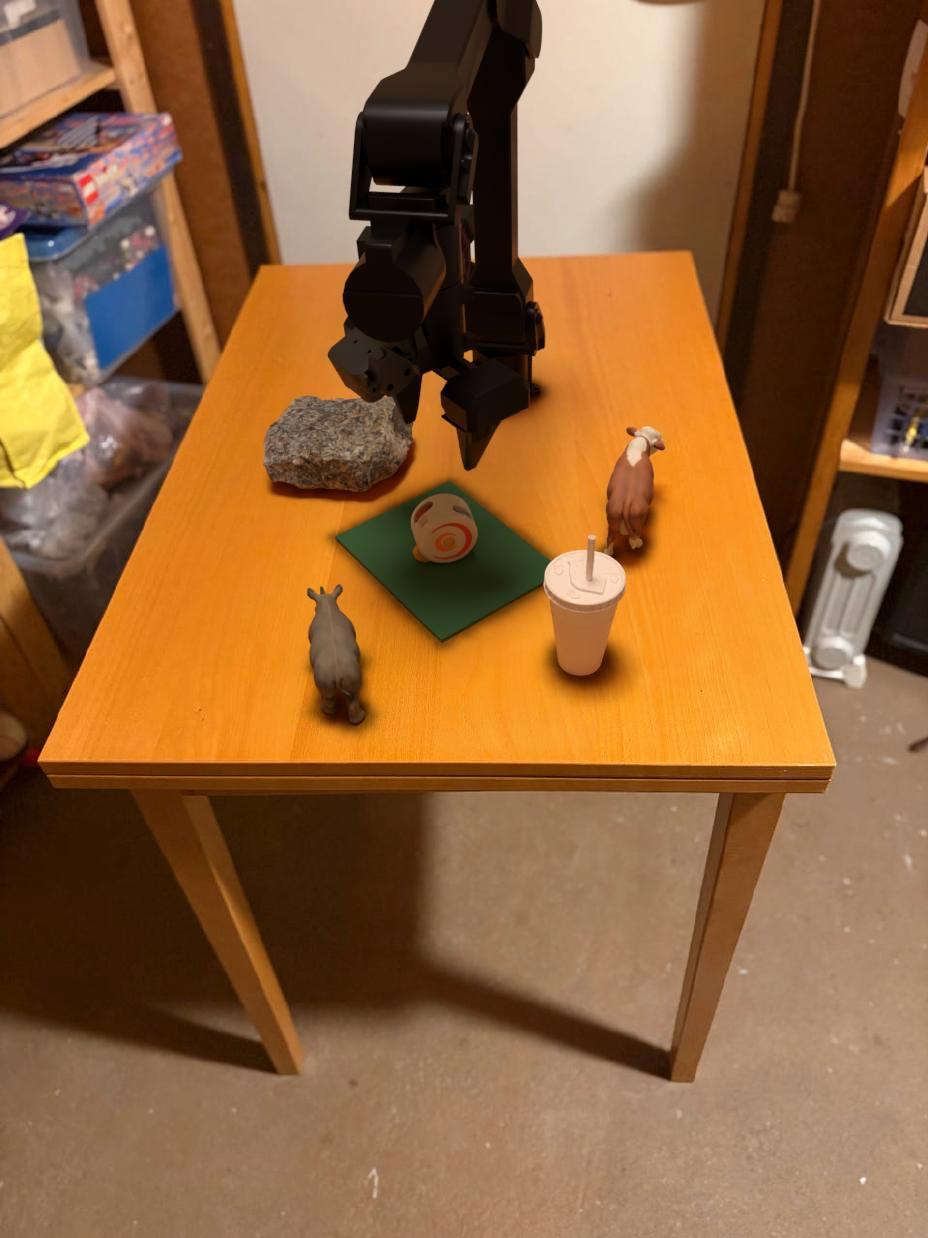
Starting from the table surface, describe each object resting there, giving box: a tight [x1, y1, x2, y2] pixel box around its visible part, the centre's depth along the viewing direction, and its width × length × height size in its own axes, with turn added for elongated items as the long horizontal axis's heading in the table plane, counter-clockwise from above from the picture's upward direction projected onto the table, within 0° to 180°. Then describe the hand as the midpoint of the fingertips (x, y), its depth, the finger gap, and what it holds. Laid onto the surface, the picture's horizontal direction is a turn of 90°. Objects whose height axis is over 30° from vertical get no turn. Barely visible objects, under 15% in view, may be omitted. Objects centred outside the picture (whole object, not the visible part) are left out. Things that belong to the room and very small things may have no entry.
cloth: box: [334, 480, 552, 643], centre depth 89 cm, size 14×18×1 cm
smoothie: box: [542, 534, 627, 677], centre depth 74 cm, size 6×6×14 cm
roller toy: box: [411, 494, 478, 563], centre depth 87 cm, size 4×6×6 cm
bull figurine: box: [603, 425, 666, 557], centre depth 88 cm, size 4×13×8 cm, turn 161°
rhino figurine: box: [306, 583, 366, 724], centre depth 77 cm, size 4×14×6 cm, turn 12°
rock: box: [262, 395, 414, 493], centre depth 98 cm, size 13×6×15 cm
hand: (439, 444), depth 82 cm, fingers open, 9 cm apart
